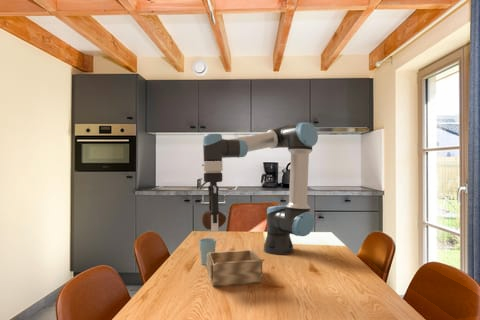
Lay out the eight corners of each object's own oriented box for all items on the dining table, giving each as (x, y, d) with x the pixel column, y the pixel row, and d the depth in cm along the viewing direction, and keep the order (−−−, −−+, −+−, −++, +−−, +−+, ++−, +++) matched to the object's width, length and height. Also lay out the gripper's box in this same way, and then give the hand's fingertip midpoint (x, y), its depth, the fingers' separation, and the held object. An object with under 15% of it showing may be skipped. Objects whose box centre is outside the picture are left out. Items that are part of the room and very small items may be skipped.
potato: (203, 227, 130) (203, 208, 130) (227, 227, 129) (226, 208, 129) (200, 231, 122) (200, 211, 122) (225, 231, 122) (225, 211, 122)
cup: (218, 264, 139) (218, 241, 139) (202, 267, 136) (201, 242, 136) (213, 259, 146) (212, 237, 146) (197, 262, 143) (197, 239, 143)
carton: (251, 268, 133) (251, 249, 134) (262, 282, 117) (262, 261, 117) (206, 271, 129) (206, 252, 130) (210, 287, 113) (210, 265, 113)
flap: (260, 260, 116) (264, 259, 111) (260, 262, 116) (264, 260, 111) (214, 263, 113) (216, 262, 107) (214, 265, 112) (216, 264, 107)
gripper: (202, 171, 135) (202, 224, 135) (205, 173, 115) (206, 235, 115) (219, 171, 136) (220, 223, 136) (225, 172, 116) (226, 234, 116)
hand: (213, 228), depth 125 cm, fingers closed on potato, 7 cm apart
